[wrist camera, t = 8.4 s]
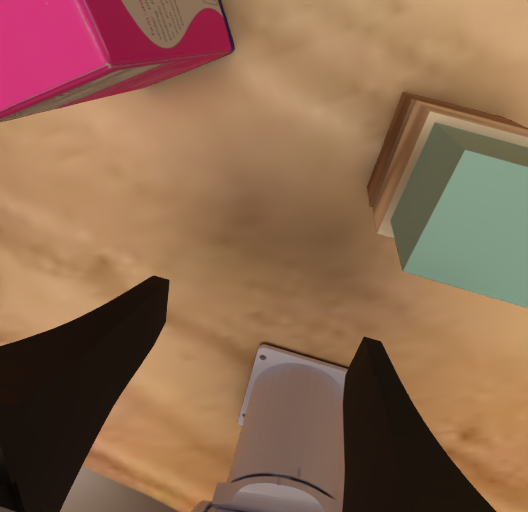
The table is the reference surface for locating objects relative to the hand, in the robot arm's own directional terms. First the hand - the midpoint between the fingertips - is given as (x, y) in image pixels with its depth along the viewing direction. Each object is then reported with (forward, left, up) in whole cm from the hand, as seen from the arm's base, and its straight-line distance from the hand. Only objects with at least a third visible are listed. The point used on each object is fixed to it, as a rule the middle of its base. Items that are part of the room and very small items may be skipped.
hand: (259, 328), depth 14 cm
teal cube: (+5, -6, -5) cm, 9 cm away
